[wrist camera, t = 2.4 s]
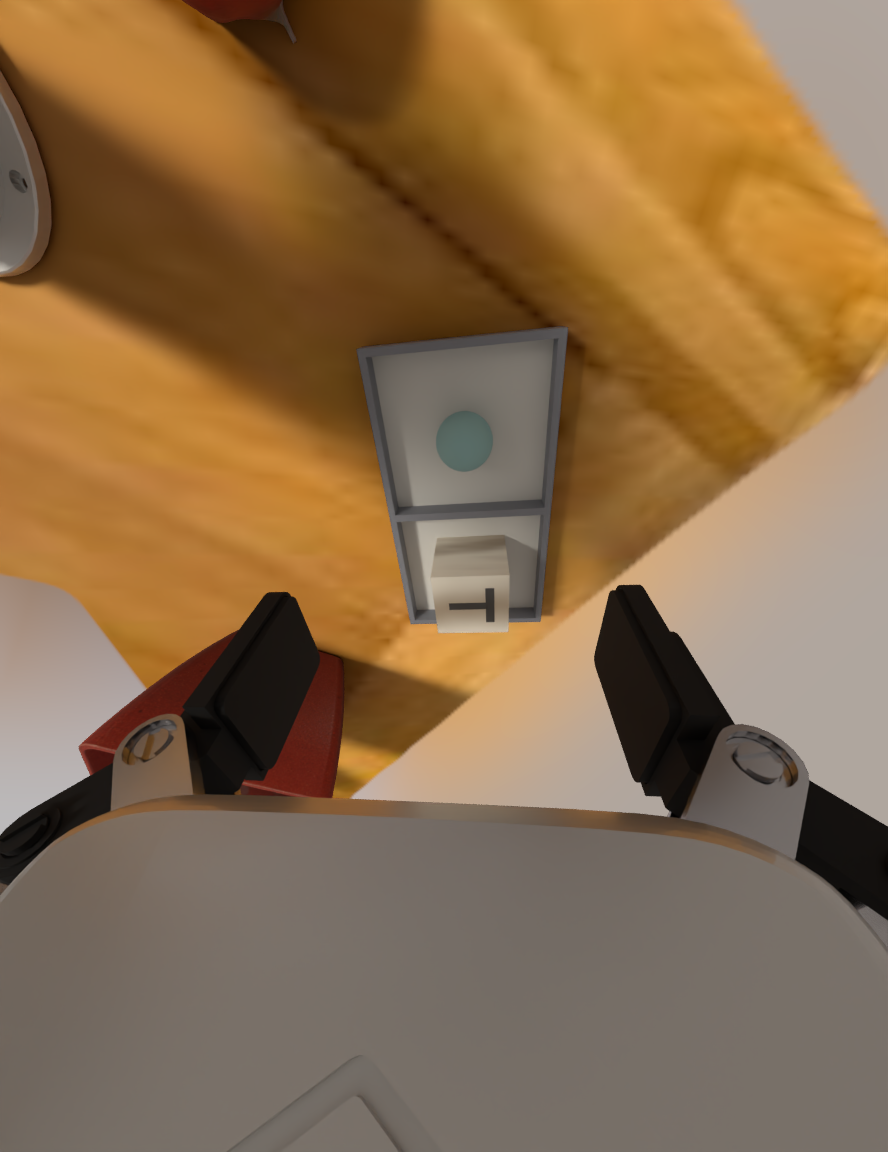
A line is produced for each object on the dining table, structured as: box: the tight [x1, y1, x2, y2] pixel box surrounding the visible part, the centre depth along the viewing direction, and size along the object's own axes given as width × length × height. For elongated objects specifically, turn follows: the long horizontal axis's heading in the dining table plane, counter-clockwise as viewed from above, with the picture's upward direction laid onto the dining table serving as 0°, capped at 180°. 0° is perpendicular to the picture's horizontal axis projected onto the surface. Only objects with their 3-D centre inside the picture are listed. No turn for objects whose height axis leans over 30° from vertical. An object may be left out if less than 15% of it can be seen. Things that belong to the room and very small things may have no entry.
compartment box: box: [356, 326, 568, 624], centre depth 30 cm, size 24×13×2 cm, turn 5°
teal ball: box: [436, 411, 493, 472], centre depth 25 cm, size 4×4×4 cm
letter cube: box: [430, 535, 510, 633], centre depth 31 cm, size 6×6×6 cm
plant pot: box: [79, 630, 344, 798], centre depth 40 cm, size 19×19×17 cm
